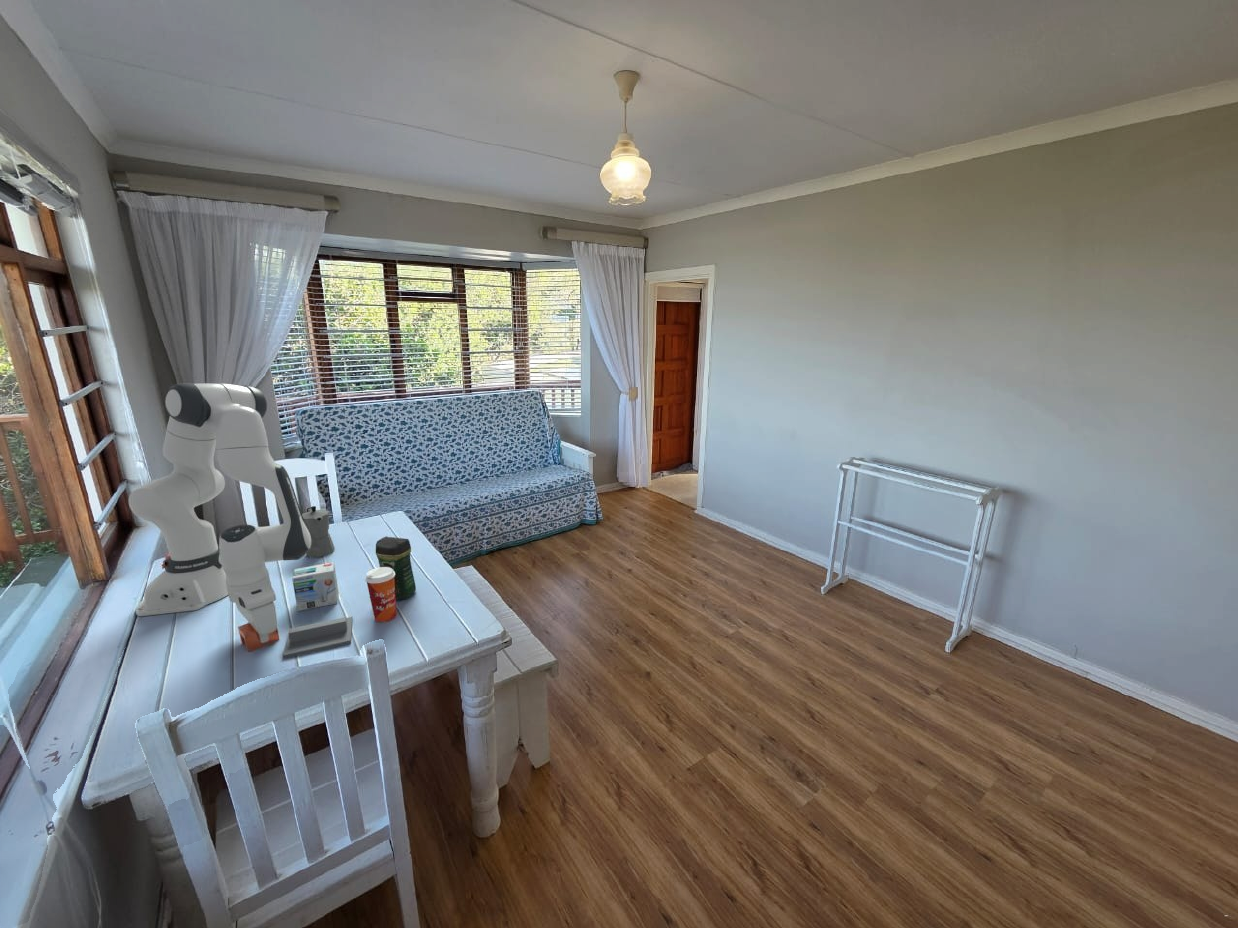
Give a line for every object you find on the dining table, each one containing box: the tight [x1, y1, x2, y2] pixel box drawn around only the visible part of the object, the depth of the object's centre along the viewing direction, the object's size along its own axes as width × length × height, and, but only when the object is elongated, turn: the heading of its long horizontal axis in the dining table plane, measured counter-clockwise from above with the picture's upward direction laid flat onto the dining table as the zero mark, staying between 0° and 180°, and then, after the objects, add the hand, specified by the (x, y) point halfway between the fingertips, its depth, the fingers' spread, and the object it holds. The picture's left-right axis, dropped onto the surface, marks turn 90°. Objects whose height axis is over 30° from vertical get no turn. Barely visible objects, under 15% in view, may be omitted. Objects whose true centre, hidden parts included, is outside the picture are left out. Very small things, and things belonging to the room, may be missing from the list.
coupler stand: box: [282, 616, 354, 660], centre depth 132 cm, size 15×12×4 cm
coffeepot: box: [302, 505, 336, 559], centre depth 181 cm, size 15×9×18 cm, turn 44°
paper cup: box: [364, 566, 397, 623], centre depth 141 cm, size 8×8×14 cm
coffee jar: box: [375, 535, 417, 601], centre depth 152 cm, size 10×8×19 cm
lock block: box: [237, 622, 280, 653], centre depth 130 cm, size 7×6×5 cm
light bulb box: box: [291, 561, 340, 612], centre depth 148 cm, size 11×7×11 cm, turn 118°
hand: (259, 635), depth 130 cm, fingers open, 6 cm apart
